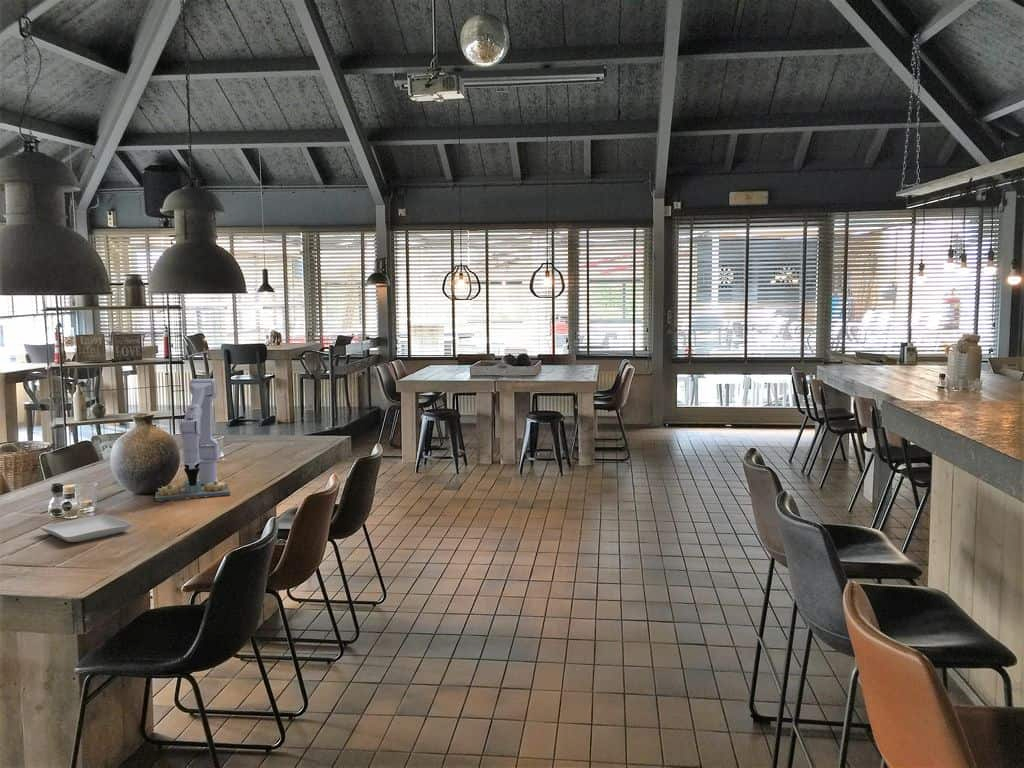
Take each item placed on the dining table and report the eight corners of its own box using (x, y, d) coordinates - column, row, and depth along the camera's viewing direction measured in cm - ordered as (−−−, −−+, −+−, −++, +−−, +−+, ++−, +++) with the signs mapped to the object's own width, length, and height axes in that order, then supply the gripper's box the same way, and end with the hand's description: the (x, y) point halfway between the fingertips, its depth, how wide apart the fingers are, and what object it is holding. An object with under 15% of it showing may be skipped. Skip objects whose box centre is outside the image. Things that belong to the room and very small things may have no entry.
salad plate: (105, 522, 279) (104, 512, 279) (134, 533, 266) (134, 523, 266) (39, 535, 263) (38, 525, 263) (66, 548, 250) (66, 537, 249)
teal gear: (185, 490, 319) (184, 480, 318) (200, 488, 321) (200, 478, 321) (185, 493, 314) (184, 483, 313) (201, 491, 316) (200, 481, 315)
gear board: (156, 493, 319) (155, 481, 318) (228, 487, 329) (227, 475, 328) (155, 501, 306) (154, 489, 305) (230, 495, 316) (229, 482, 316)
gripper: (202, 452, 310) (203, 486, 312) (201, 446, 324) (203, 479, 325) (182, 453, 308) (184, 488, 309) (182, 447, 321) (184, 480, 323)
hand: (192, 483), depth 317 cm, fingers open, 7 cm apart
